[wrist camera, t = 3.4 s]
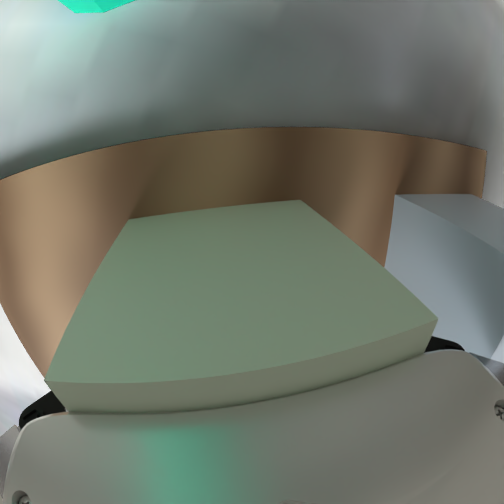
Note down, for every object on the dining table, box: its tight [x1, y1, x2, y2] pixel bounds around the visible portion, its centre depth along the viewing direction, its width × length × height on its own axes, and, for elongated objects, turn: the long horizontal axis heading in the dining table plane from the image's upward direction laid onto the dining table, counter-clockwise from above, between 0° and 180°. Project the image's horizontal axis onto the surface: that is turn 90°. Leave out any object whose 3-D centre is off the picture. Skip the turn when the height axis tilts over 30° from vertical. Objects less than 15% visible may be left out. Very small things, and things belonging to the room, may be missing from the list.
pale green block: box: [44, 200, 439, 413], centre depth 9 cm, size 7×7×8 cm
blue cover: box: [384, 194, 504, 363], centre depth 11 cm, size 7×7×8 cm
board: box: [0, 127, 487, 378], centre depth 13 cm, size 30×15×2 cm, turn 92°
